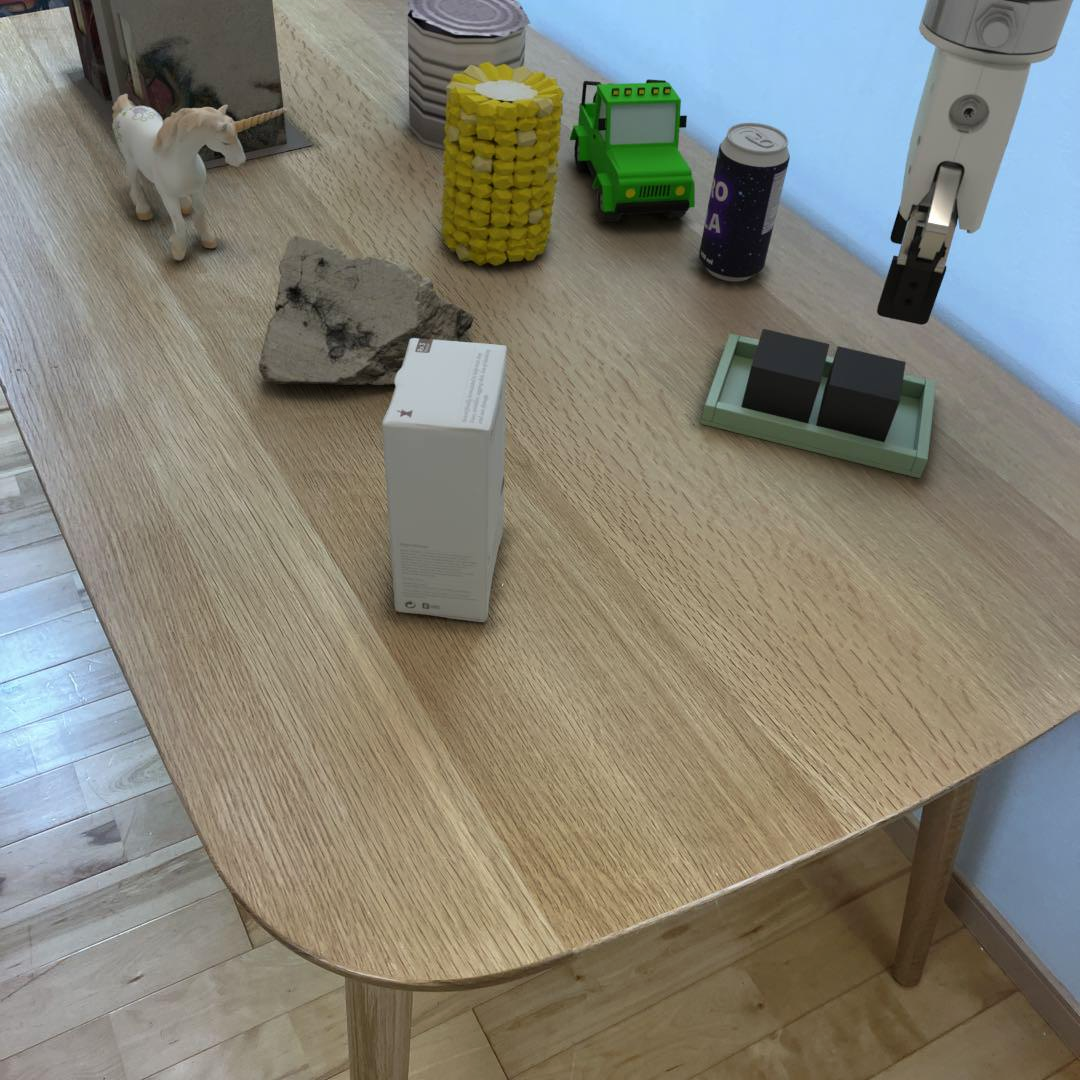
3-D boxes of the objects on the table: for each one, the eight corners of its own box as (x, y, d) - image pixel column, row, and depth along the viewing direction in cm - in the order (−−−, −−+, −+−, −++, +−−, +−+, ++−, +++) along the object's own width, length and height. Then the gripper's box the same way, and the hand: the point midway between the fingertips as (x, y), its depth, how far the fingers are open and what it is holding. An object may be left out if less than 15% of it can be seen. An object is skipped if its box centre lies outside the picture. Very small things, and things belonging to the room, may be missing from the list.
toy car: (603, 237, 99) (616, 129, 92) (562, 146, 111) (570, 44, 104) (694, 232, 101) (713, 126, 94) (643, 143, 113) (657, 42, 105)
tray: (929, 399, 86) (936, 381, 85) (920, 478, 79) (927, 459, 78) (725, 351, 89) (729, 332, 87) (700, 423, 82) (704, 404, 81)
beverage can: (728, 244, 100) (755, 114, 91) (775, 273, 97) (808, 141, 89) (683, 263, 97) (707, 131, 89) (730, 293, 94) (759, 160, 86)
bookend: (152, 181, 101) (114, -7, 90) (66, 73, 115) (24, -101, 103) (313, 144, 108) (297, -34, 96) (213, 47, 122) (189, -119, 110)
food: (430, 276, 96) (475, 226, 103) (558, 281, 92) (595, 228, 99) (392, 95, 87) (443, 54, 94) (532, 91, 83) (576, 49, 90)
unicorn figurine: (239, 300, 89) (215, 141, 80) (80, 215, 96) (40, 59, 87) (303, 263, 93) (287, 108, 84) (146, 184, 101) (115, 33, 91)
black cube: (890, 404, 85) (905, 361, 82) (883, 444, 81) (900, 401, 78) (824, 388, 85) (837, 345, 83) (815, 427, 82) (829, 384, 79)
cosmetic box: (487, 625, 67) (496, 437, 57) (388, 614, 68) (378, 424, 57) (503, 527, 73) (514, 341, 63) (412, 517, 73) (407, 329, 63)
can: (444, 92, 118) (444, -29, 109) (541, 120, 115) (549, -2, 106) (387, 135, 110) (382, 8, 102) (489, 165, 107) (493, 38, 99)
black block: (816, 386, 86) (829, 343, 83) (807, 425, 82) (820, 382, 79) (752, 371, 86) (763, 328, 83) (740, 409, 83) (751, 365, 80)
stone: (494, 377, 84) (499, 261, 77) (269, 415, 80) (253, 296, 72) (450, 293, 92) (450, 180, 85) (242, 324, 87) (224, 207, 80)
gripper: (1067, 82, 56) (958, 364, 68) (1061, -26, 68) (969, 230, 80) (915, 56, 57) (835, 337, 69) (935, -45, 69) (863, 209, 81)
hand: (907, 279), depth 74 cm, fingers open, 9 cm apart
